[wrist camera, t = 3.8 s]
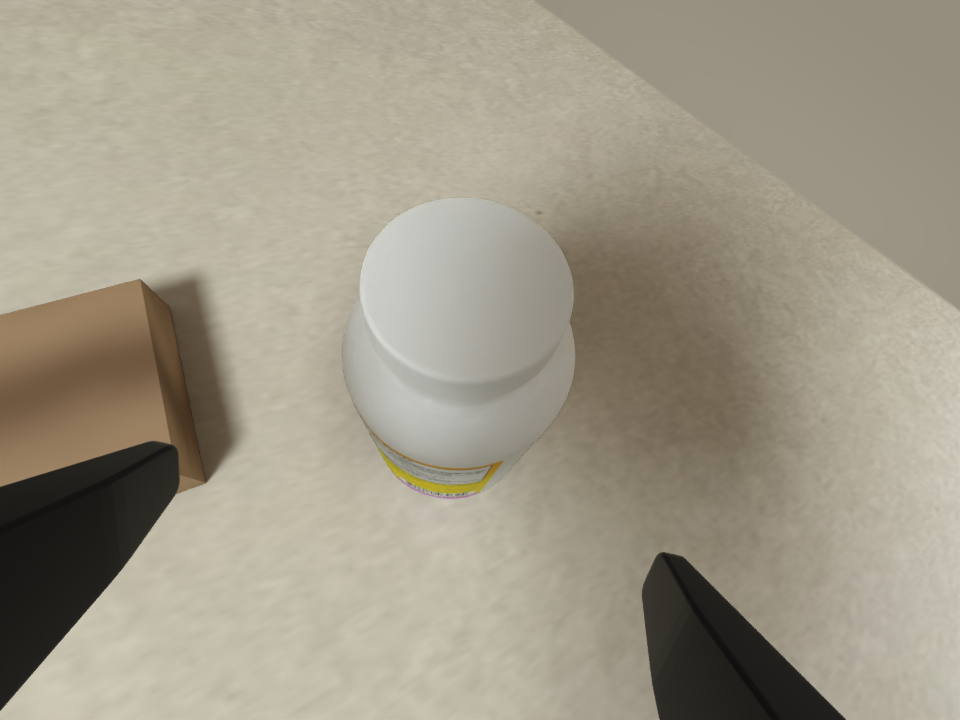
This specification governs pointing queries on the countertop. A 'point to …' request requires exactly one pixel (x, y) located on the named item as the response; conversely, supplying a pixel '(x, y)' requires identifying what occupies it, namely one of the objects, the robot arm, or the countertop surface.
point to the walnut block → (92, 383)
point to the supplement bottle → (460, 343)
